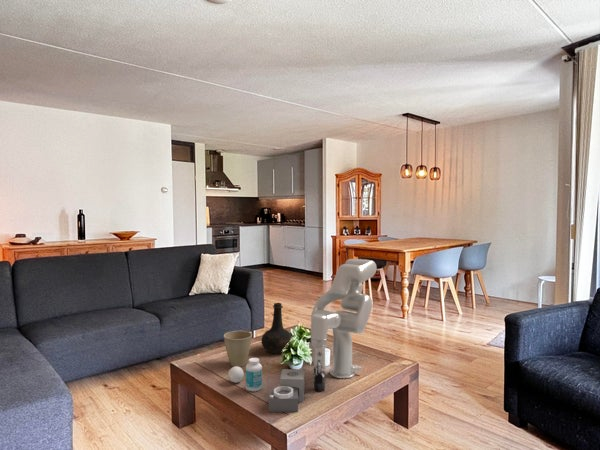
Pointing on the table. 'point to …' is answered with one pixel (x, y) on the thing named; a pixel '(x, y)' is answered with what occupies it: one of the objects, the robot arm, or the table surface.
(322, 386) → the lens
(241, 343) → the plant pot
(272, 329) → the glass bottle
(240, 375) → the white ovoid
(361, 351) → the table surface
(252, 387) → the pill bottle
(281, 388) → the grey ring-top block
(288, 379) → the icon cube
